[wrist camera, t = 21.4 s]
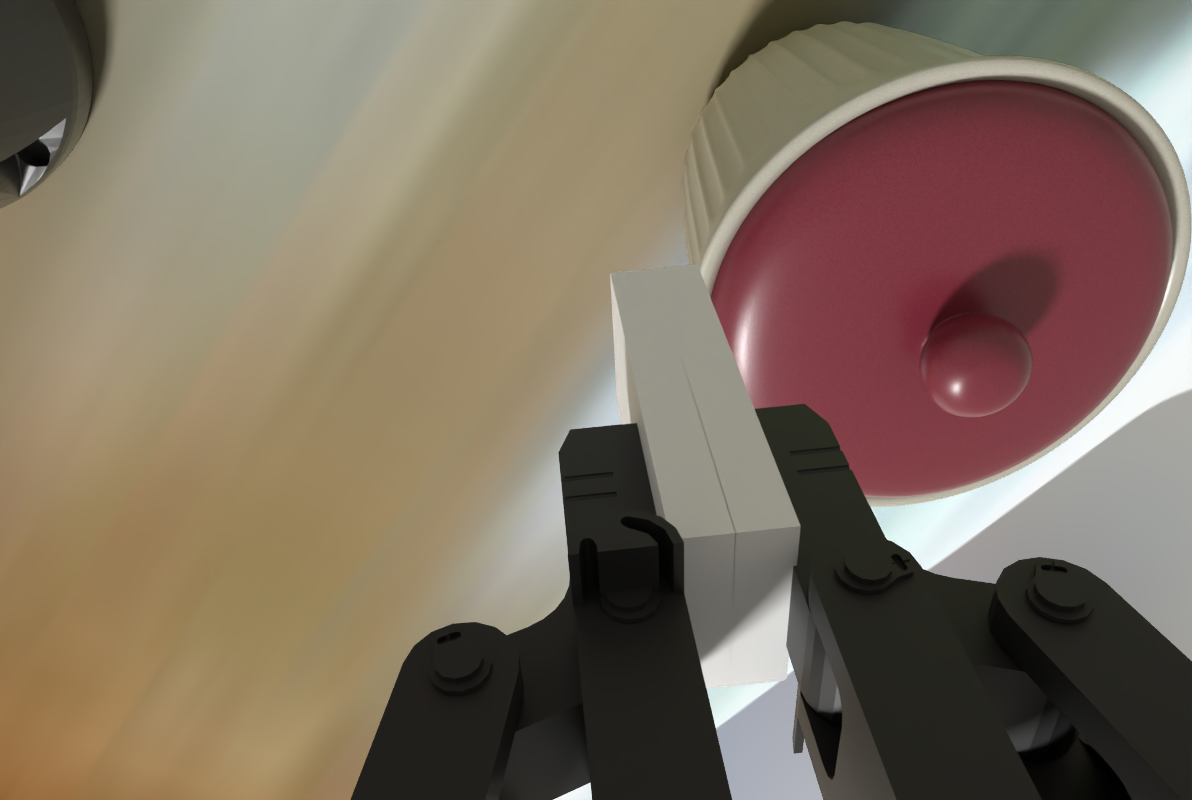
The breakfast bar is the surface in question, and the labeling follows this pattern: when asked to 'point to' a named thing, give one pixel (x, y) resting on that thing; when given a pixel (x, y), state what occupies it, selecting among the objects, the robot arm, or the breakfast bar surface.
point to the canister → (933, 247)
